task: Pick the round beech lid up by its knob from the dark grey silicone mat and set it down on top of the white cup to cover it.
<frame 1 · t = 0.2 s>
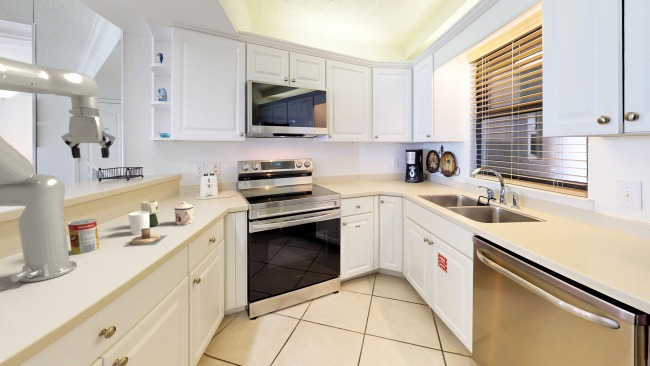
hand: (91, 157, 100), 36 cm above the worktop, tool pointing down, fingers open, 9 cm apart
canned food: (86, 252, 98), on the worktop
lid: (146, 240, 109), point 1 cm above the worktop, touching mat
teacup with lid: (185, 223, 137), on the worktop
mat: (146, 242, 109), on the worktop
white cup: (140, 234, 120), on the worktop
character mug: (151, 226, 132), on the worktop
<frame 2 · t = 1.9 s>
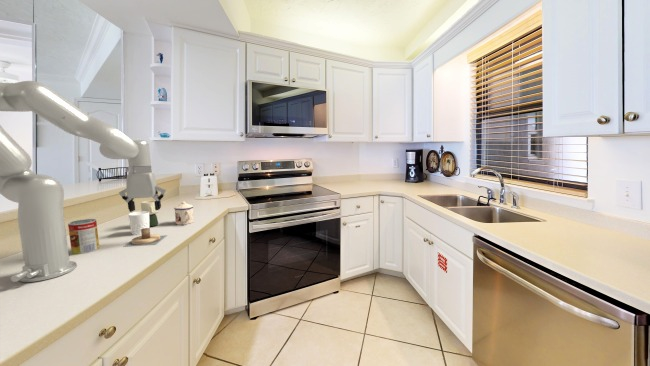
hand: (145, 210, 108), 14 cm above the worktop, tool pointing down, fingers open, 9 cm apart
nothing on the worktop moved.
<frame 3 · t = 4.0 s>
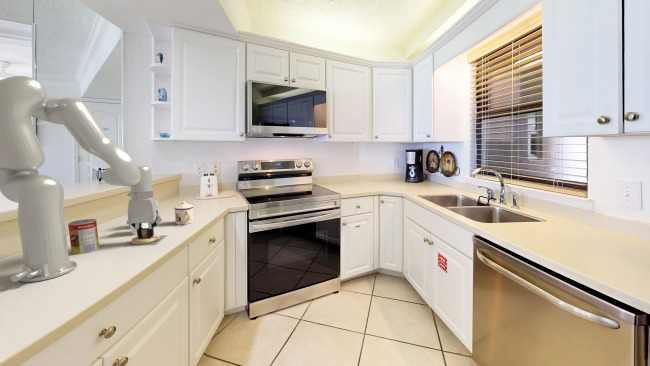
hand: (145, 237, 108), 2 cm above the worktop, tool pointing down, fingers closed on lid, 3 cm apart
lid: (146, 240, 109), point 1 cm above the worktop, touching gripper
everything else where it was.
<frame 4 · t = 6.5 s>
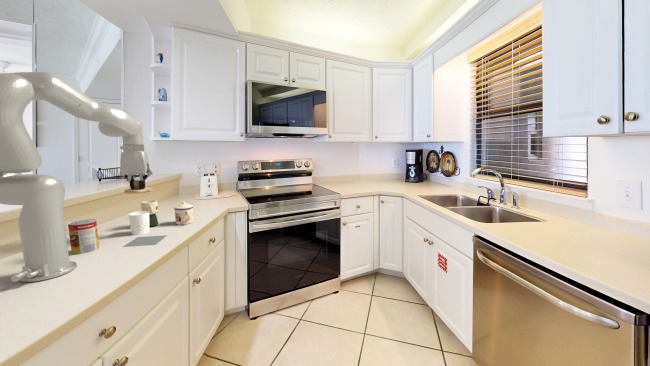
hand: (138, 188, 116), 22 cm above the worktop, tool pointing down, fingers closed on lid, 3 cm apart
lid: (138, 191, 116), point 20 cm above the worktop, touching gripper
everything else where it was.
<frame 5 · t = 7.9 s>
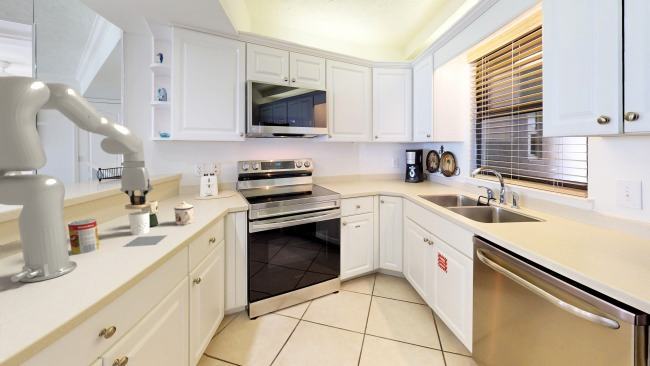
hand: (138, 204, 118), 14 cm above the worktop, tool pointing down, fingers closed on lid, 3 cm apart
lid: (138, 206, 118), point 13 cm above the worktop, touching gripper
everything else where it was.
when the fingers open (12 cm above the worktop, at t = 8.9 s): lid drops 1 cm, resting on white cup.
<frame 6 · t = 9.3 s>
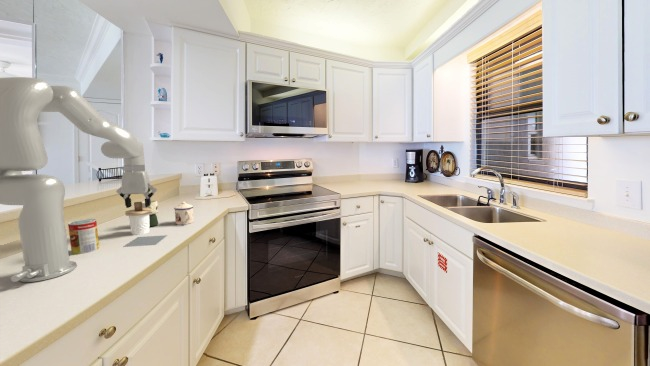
hand: (138, 206, 118), 13 cm above the worktop, tool pointing down, fingers open, 7 cm apart
lid: (138, 213, 119), point 10 cm above the worktop, touching white cup
white cup: (140, 234, 120), on the worktop, touching lid
everything else where it was.
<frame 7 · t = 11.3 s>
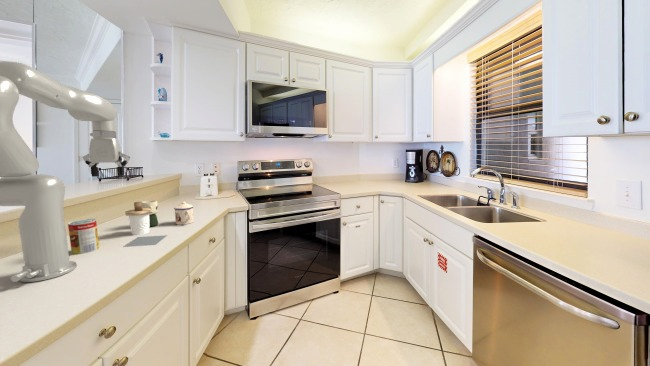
hand: (108, 176, 108), 28 cm above the worktop, tool pointing down, fingers open, 9 cm apart
nothing on the worktop moved.
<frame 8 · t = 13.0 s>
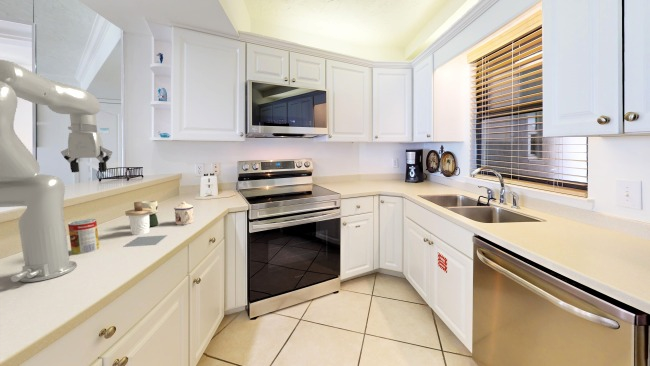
hand: (89, 172, 104), 30 cm above the worktop, tool pointing down, fingers open, 9 cm apart
nothing on the worktop moved.
at the end: lid 0.1 cm off-centre on the white cup, point 10.2 cm above the white cup's base; lid tilted 0°; white cup tilted 0° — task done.
